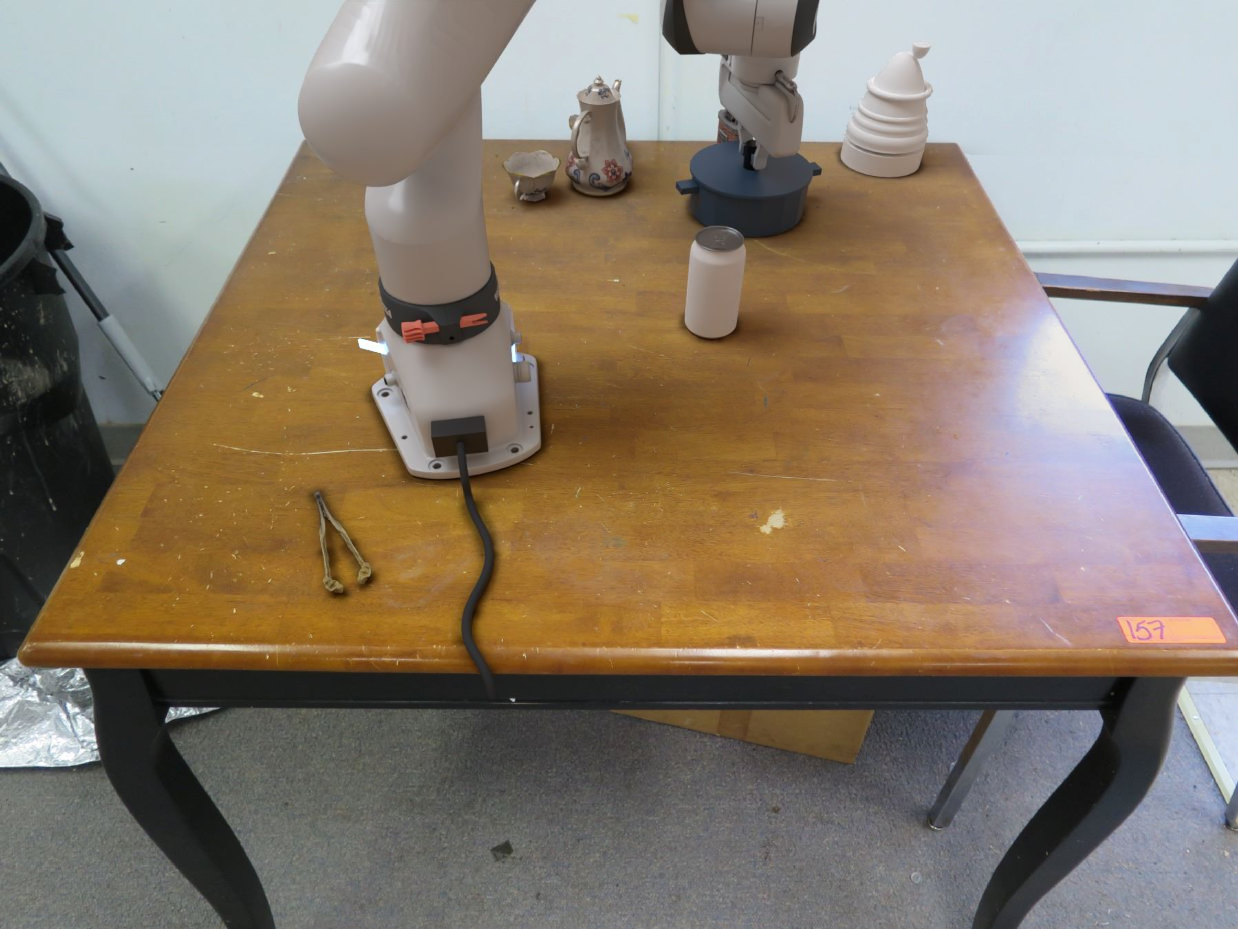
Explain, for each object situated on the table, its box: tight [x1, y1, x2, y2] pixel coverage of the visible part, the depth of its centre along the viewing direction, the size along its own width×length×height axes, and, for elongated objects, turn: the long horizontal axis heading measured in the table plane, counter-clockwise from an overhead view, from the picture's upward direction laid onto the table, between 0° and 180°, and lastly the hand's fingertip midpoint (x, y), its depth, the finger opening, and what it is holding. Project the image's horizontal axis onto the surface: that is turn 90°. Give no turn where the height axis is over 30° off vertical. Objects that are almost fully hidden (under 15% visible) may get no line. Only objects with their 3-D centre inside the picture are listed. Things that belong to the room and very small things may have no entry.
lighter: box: [716, 108, 740, 144], centre depth 125 cm, size 8×3×10 cm, turn 17°
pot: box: [675, 161, 823, 238], centre depth 116 cm, size 17×22×6 cm
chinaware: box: [501, 74, 634, 202], centre depth 119 cm, size 28×17×17 cm, turn 154°
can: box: [684, 226, 747, 340], centre depth 94 cm, size 6×6×12 cm
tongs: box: [313, 490, 372, 594], centre depth 73 cm, size 4×13×2 cm, turn 33°
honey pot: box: [840, 41, 934, 178], centre depth 124 cm, size 13×13×18 cm
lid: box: [689, 139, 814, 200], centre depth 113 cm, size 18×18×5 cm
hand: (751, 160), depth 113 cm, fingers open, 3 cm apart
